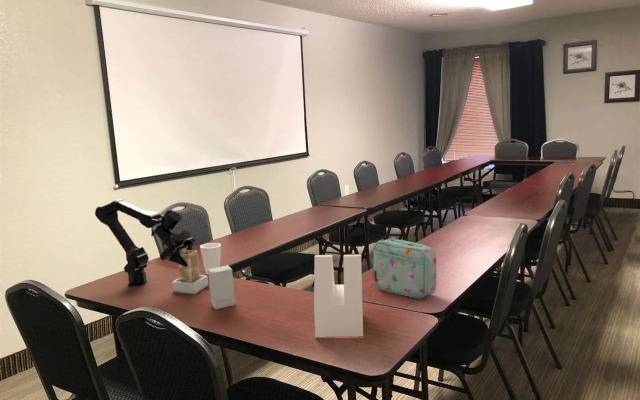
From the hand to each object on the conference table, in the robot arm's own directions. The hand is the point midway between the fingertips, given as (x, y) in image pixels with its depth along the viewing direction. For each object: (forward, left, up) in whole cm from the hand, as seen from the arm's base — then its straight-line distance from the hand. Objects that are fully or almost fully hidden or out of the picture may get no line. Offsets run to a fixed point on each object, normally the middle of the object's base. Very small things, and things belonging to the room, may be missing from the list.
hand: (191, 263), depth 213 cm
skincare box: (+18, -18, -11) cm, 28 cm away
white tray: (-1, 0, -11) cm, 11 cm away
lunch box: (+87, -5, -11) cm, 88 cm away
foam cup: (+2, +22, -11) cm, 25 cm away
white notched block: (+64, -37, -11) cm, 75 cm away
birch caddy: (-1, 0, -7) cm, 7 cm away
